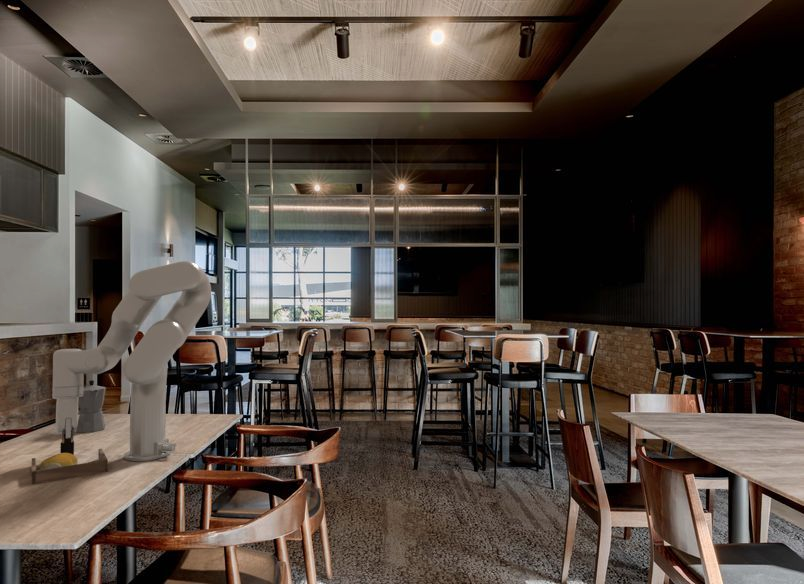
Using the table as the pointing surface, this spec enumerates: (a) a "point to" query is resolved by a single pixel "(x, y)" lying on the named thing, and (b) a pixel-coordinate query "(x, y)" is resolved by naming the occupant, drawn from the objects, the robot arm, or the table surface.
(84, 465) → the walnut open-ended frame
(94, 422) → the coffeepot
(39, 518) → the table surface
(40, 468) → the bread roll
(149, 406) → the robot arm
